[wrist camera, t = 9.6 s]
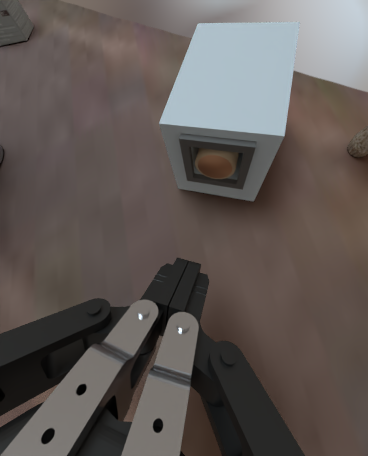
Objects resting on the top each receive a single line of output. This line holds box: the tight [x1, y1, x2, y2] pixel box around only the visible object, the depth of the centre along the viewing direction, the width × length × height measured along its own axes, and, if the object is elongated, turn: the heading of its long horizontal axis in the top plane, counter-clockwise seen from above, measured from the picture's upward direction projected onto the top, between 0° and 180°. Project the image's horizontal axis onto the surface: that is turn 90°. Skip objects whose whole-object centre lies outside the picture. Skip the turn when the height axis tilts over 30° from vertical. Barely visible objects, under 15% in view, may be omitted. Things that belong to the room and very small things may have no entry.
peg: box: [195, 148, 239, 179], centre depth 20 cm, size 12×4×4 cm, turn 165°
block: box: [159, 22, 300, 201], centre depth 22 cm, size 15×10×10 cm
